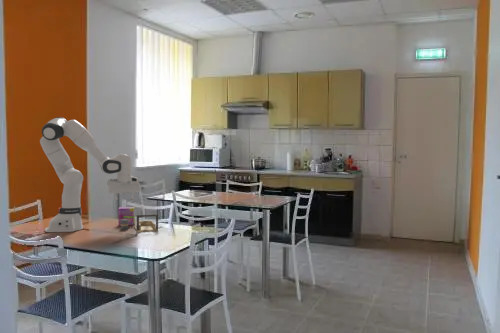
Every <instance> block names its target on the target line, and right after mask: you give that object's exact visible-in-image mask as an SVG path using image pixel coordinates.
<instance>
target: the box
mask: <svg viewBox="0 0 500 333" xmlns="http://www.w3.org/2000/svg"><path fill="white" fill-rule="evenodd" d="M117 210H118V211H117V213H118V216H117V217H118V226H121V220H123V219H128V226H135V224H136V207H135V206H129V207H127V206H123V207H121V206H119V207H118V209H117Z"/></svg>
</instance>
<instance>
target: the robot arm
mask: <svg viewBox="0 0 500 333" xmlns="http://www.w3.org/2000/svg"><path fill="white" fill-rule="evenodd" d="M41 134H42V137H41V138H40V139H39V143H40V146H41V148H42V151H43V152H44V154H45V156H46V157H47V159H48V160H49V162H50V164H51V165H52V167H53V168H54V171H55V173H56V176H57V177H58V178H59V179H58V180H60V182H61V183H62V184H63V189H62V194H61V207H58V208H57V211H58V214H56V215H55V216H54V217H52V218H51V219H50V220H49V222H48V226H47V227H45V229H44V232H46V233H68V232H69V233H72V232H76V231H80V230H83V229H84V225H83V221H82V206H81V192H82V188H83V182H84V175H83V174H82V172H81V171H80V170H78V169H76V168H74V165H73V163H72V161H71V157H70V156H69V154H68V152H67V151H66V149H65V148H64V146H63V144H62V142H60V139H61V138H64V136H65V137H68V138H69V139H70V140H71V141H72V142H73V143H74V144H75V145H76V146H77V147H78V148H80V149H82V150H83V151H85V152H87V153H88V154H90V155H91V156H92V157H93V159H94V160H96V161H97V162H98V164H99V166H100V169H101V171H102V172H103V173H105V174H106V175H107V174H108V175H112V174H115V173H117V174H116V178H110V179H108V180H107V183H106V184H107V187H108V189H107V193H108V194H113V196H114V198H115V201H119V197H117V194H132V196H130V200H131V201H133V200H134V197H135V195H136V194H138V193H140V192H141V190H142V189H141V184H140V182H139V177H135V176H134V175H132V171H131V170H132V158H131V156H130V155H129V154H125V153H120V152H119V153H118V154H116V155H115V156H112V157H108V156H107V155H106V154H105V153H104V152H103V151H102V150H101V149H100V148H99V147H98V146H97V143H96V141H95V138H94V137H93V135H92V134H91V133H90V131H88V130H87V128H86V127H85V126H84V125H82V123H80V122H79V121H78V120H76V119H70V120H67V119H66V118H64V117H61V116H57V117H54V118H53V119H52V118H51V119H50V120H49V121H48V122H46V123H45V124H44V125H43V126H42V128H41Z"/></svg>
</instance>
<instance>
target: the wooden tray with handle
mask: <svg viewBox="0 0 500 333" xmlns="http://www.w3.org/2000/svg"><path fill="white" fill-rule="evenodd" d="M148 217H155V222H154V221H153V220H140V218H148ZM133 228H134V229H135V231H136V233H146V232H147V233H148V232H150V231H151V232H159V214H157V213H156V214H137V215H136V225H133Z"/></svg>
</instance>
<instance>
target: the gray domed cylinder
mask: <svg viewBox="0 0 500 333" xmlns="http://www.w3.org/2000/svg"><path fill="white" fill-rule="evenodd" d="M120 230H122V231H126V230H129V225H128V219H123V220H121V225H120Z"/></svg>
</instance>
